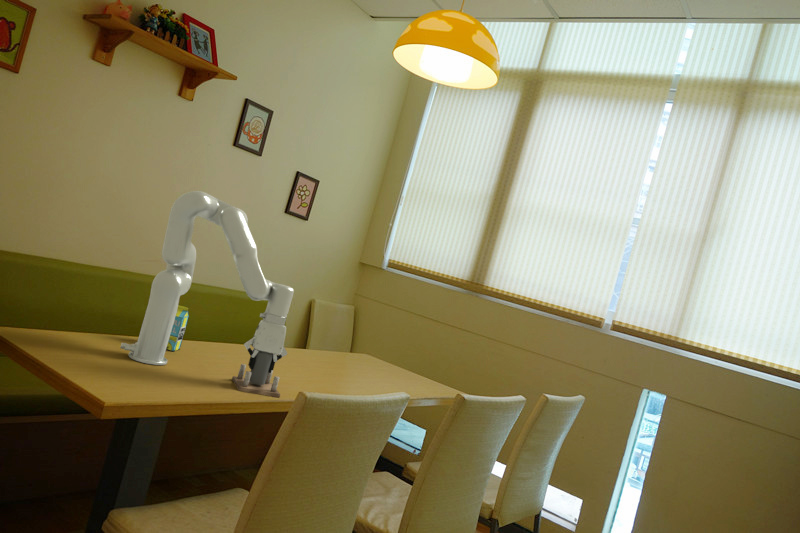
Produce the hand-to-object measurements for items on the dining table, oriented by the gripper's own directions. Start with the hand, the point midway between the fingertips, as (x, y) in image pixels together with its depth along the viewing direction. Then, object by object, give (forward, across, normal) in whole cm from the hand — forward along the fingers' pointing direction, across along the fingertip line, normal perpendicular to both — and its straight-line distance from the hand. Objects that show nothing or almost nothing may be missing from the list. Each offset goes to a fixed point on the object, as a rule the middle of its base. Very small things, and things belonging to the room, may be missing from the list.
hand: (260, 369), depth 212 cm
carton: (+7, -27, +38) cm, 47 cm away
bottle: (+5, 0, 0) cm, 5 cm away
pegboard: (+7, 0, 0) cm, 7 cm away
